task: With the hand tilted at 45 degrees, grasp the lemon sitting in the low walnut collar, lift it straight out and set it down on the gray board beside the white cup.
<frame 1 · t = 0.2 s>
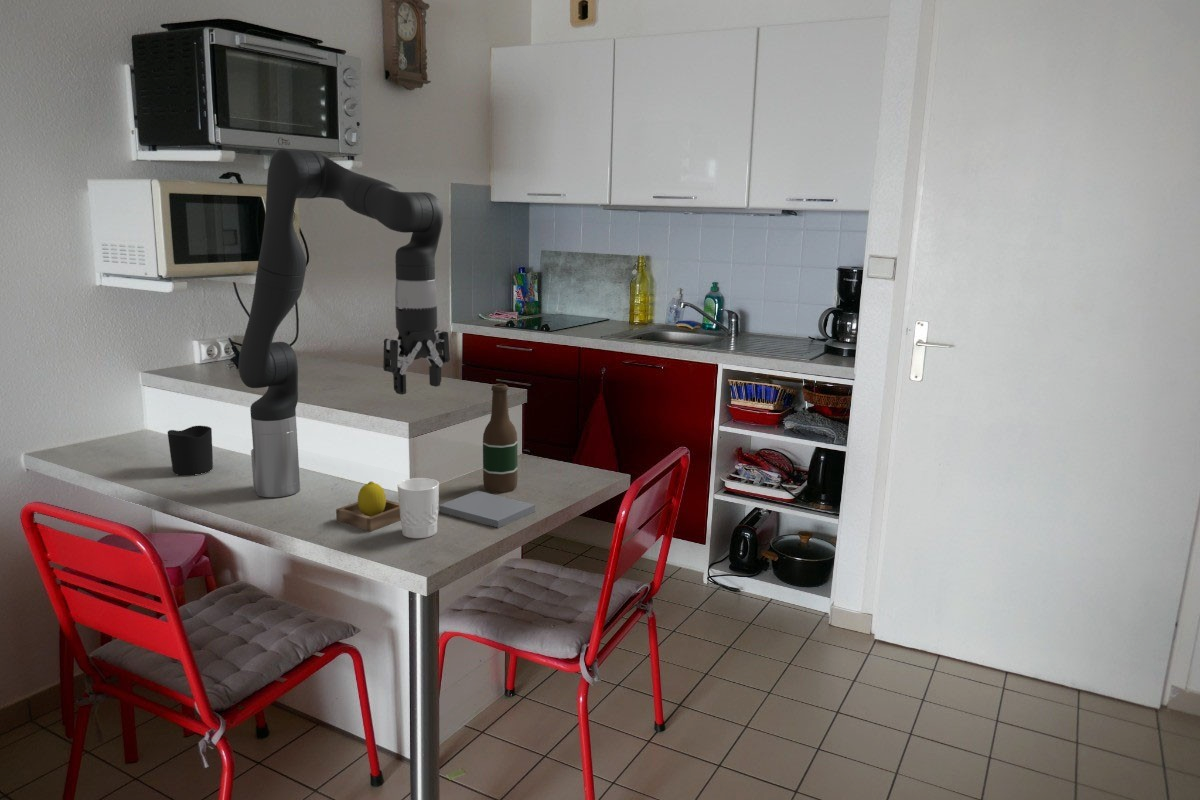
hand: (418, 389, 165), 29 cm above the table, tool pointing down, fingers open, 8 cm apart
lemon: (372, 520, 180), resting in walnut collar
white cup: (419, 533, 173), on the table
beer bottle: (500, 488, 201), on the table
walnut collar: (372, 519, 179), on the table
gray board: (487, 511, 185), on the table
pen holder: (193, 471, 209), on the table
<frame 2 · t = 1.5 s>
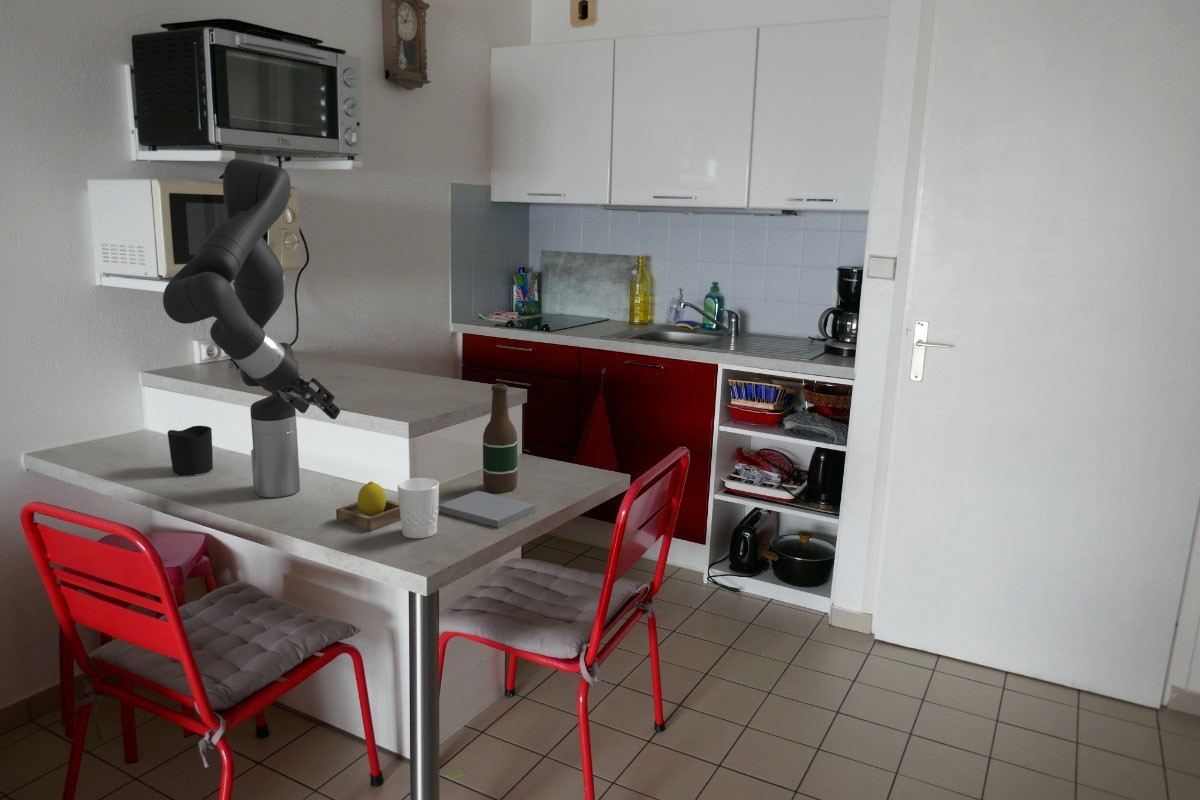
hand: (321, 412, 165), 25 cm above the table, tool tilted 45°, fingers open, 8 cm apart
nothing on the table moved.
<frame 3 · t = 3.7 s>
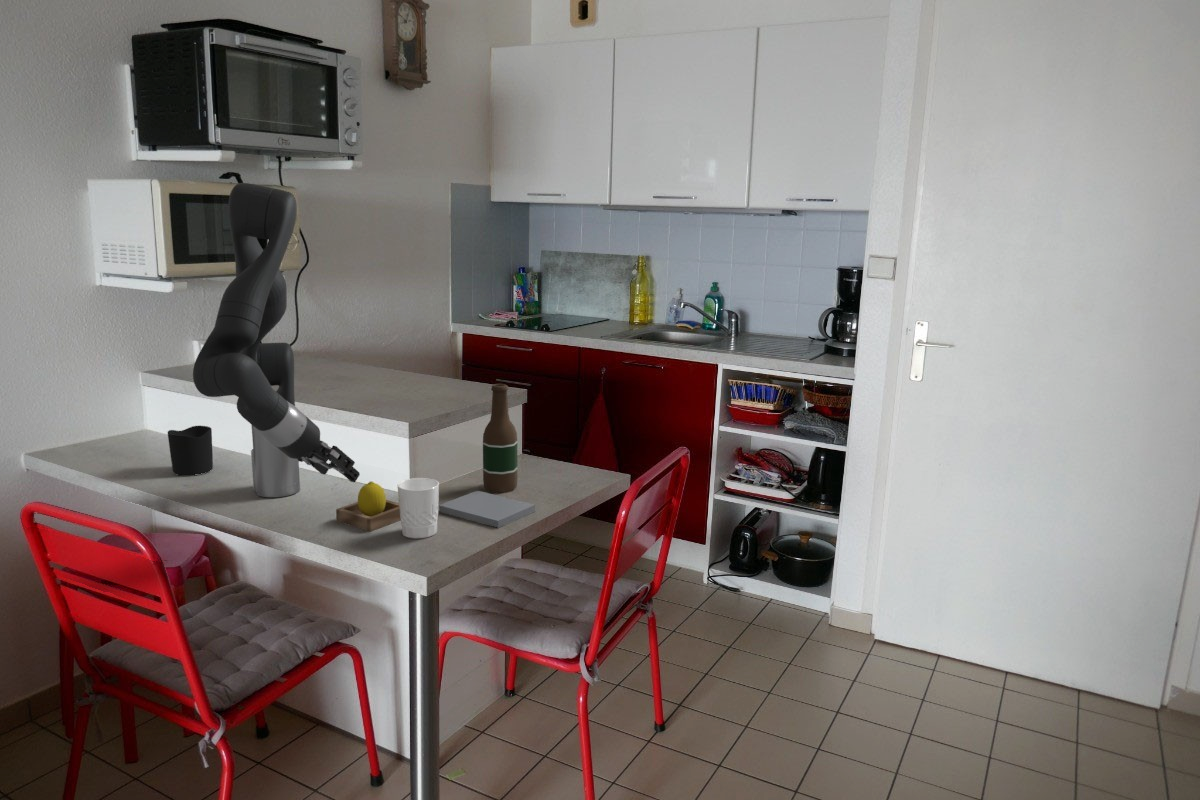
hand: (341, 474, 171), 11 cm above the table, tool tilted 45°, fingers open, 8 cm apart
nothing on the table moved.
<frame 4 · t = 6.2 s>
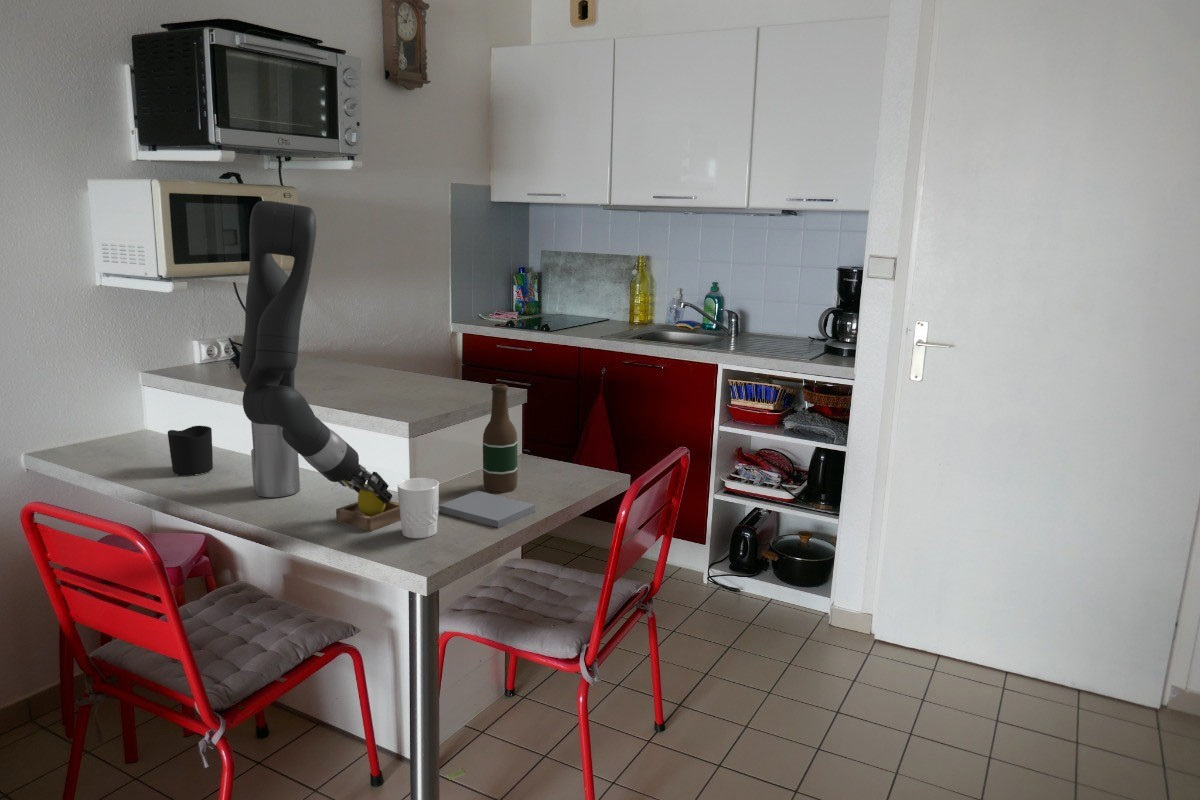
hand: (378, 496, 180), 4 cm above the table, tool tilted 45°, fingers closed on lemon, 5 cm apart
lemon: (372, 519, 180), resting in walnut collar, touching gripper
everything else where it was.
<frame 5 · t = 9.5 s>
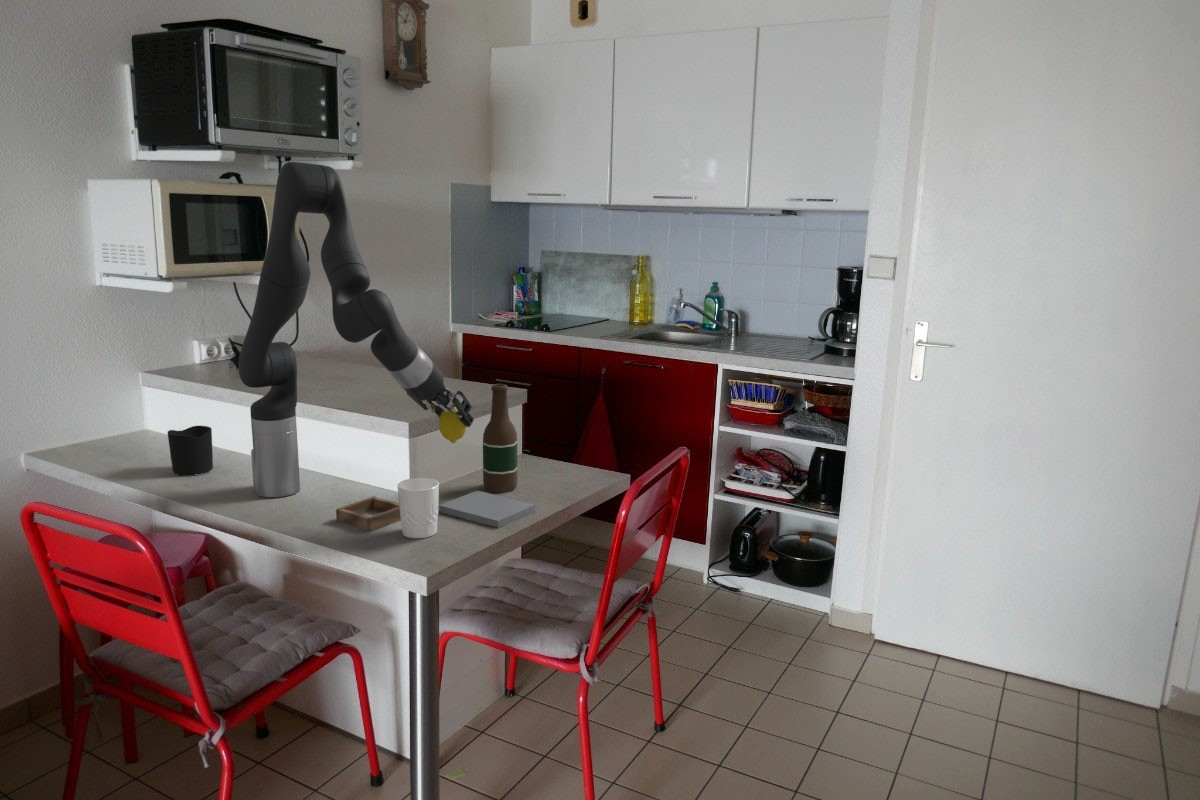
hand: (459, 421, 180), 20 cm above the table, tool tilted 45°, fingers closed on lemon, 5 cm apart
lemon: (453, 444, 179), point 15 cm above the table, touching gripper
everything else where it was.
when the fingers open (7 cm above the table, at t = 13.0 s): lemon drops 1 cm, resting on gray board.
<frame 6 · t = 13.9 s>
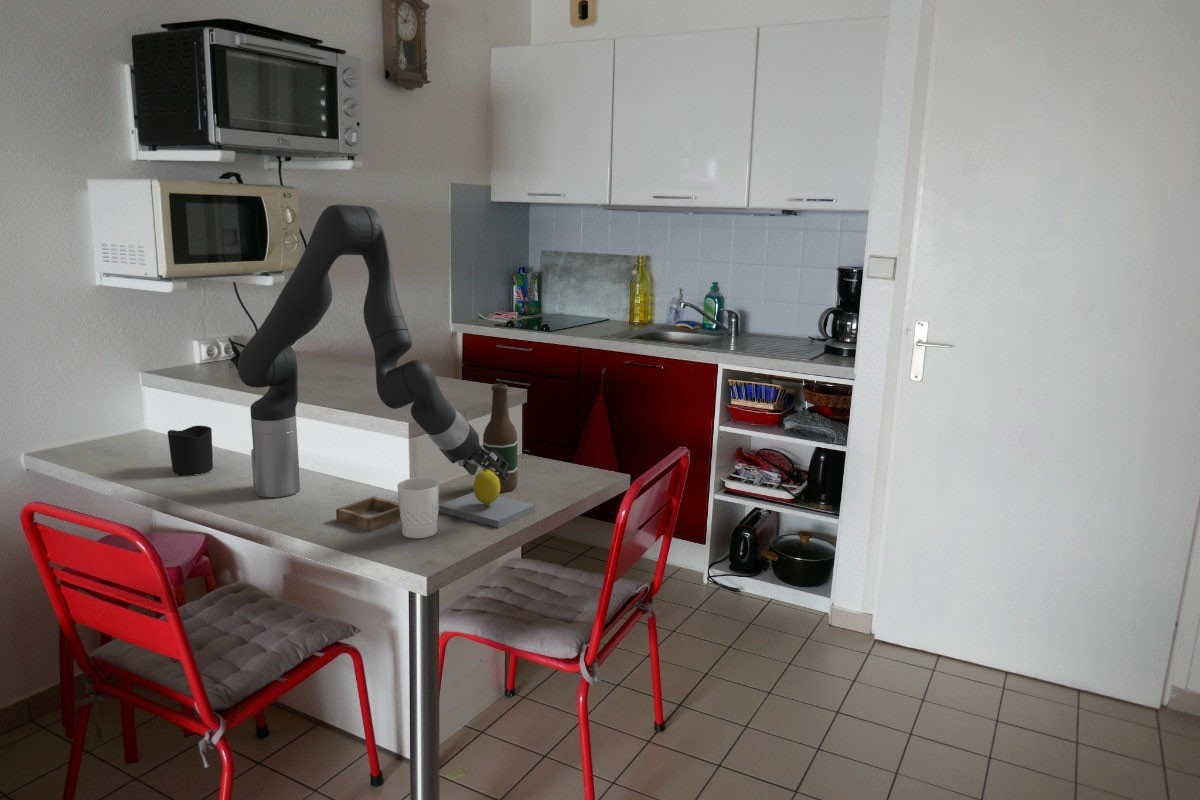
hand: (490, 474, 184), 8 cm above the table, tool tilted 45°, fingers open, 8 cm apart
lemon: (487, 506, 184), point 1 cm above the table, touching gray board
everything else where it was.
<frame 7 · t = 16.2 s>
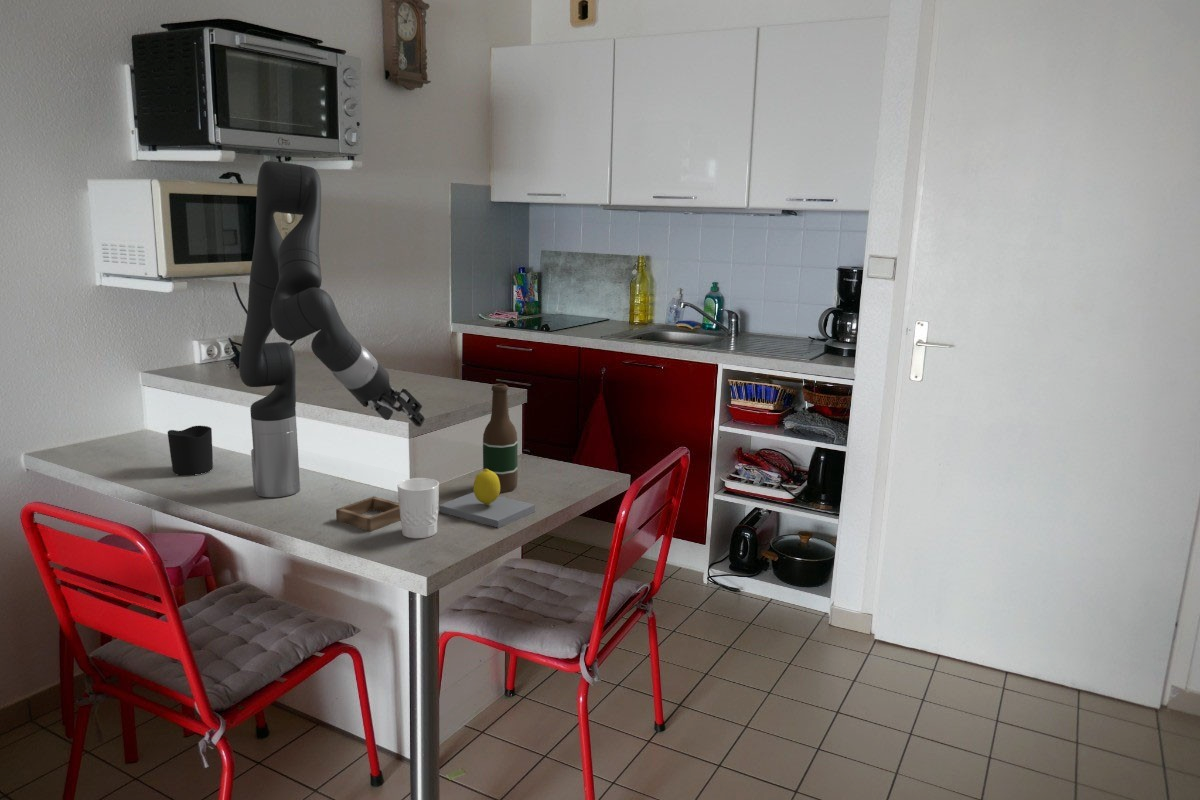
hand: (405, 419, 173), 22 cm above the table, tool tilted 45°, fingers open, 8 cm apart
nothing on the table moved.
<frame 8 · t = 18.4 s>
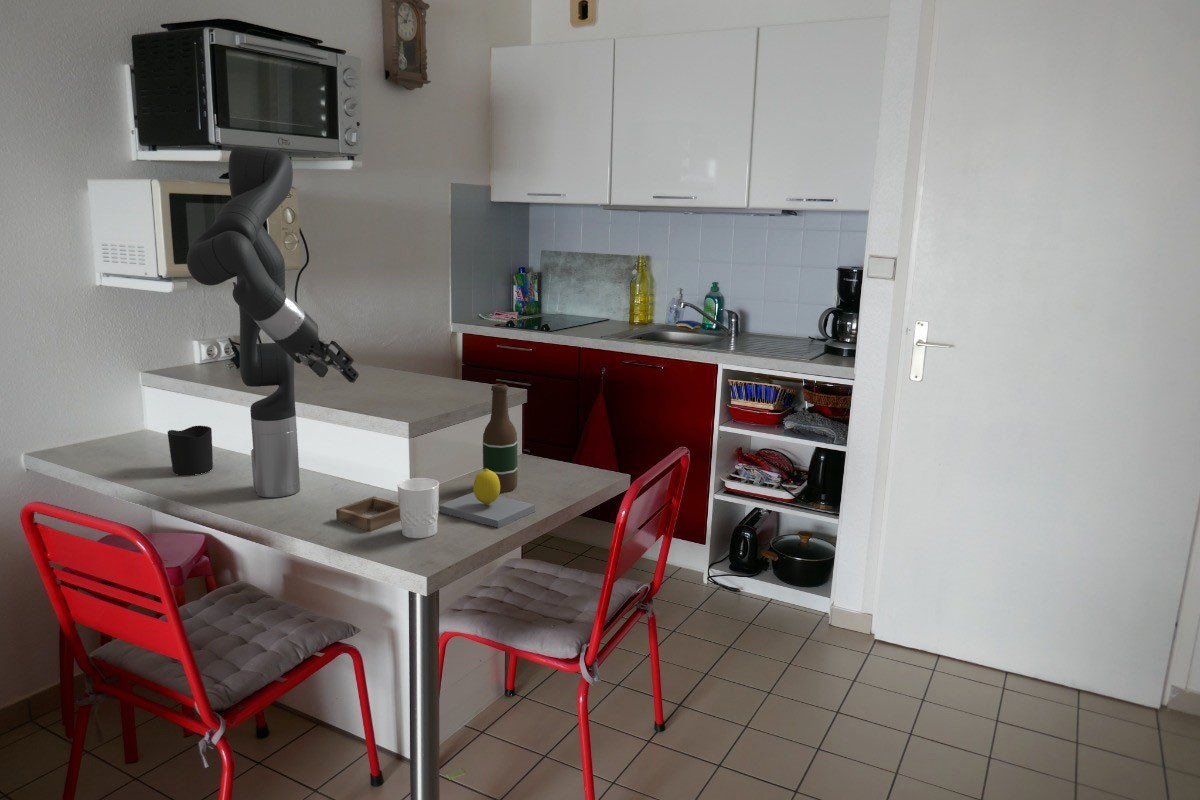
hand: (339, 376, 167), 31 cm above the table, tool tilted 45°, fingers open, 8 cm apart
nothing on the table moved.
at the end: lemon inside the target area on the gray board (0.4 cm from its centre), point 1.3 cm above the gray board's base; the gripper is holding nothing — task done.
